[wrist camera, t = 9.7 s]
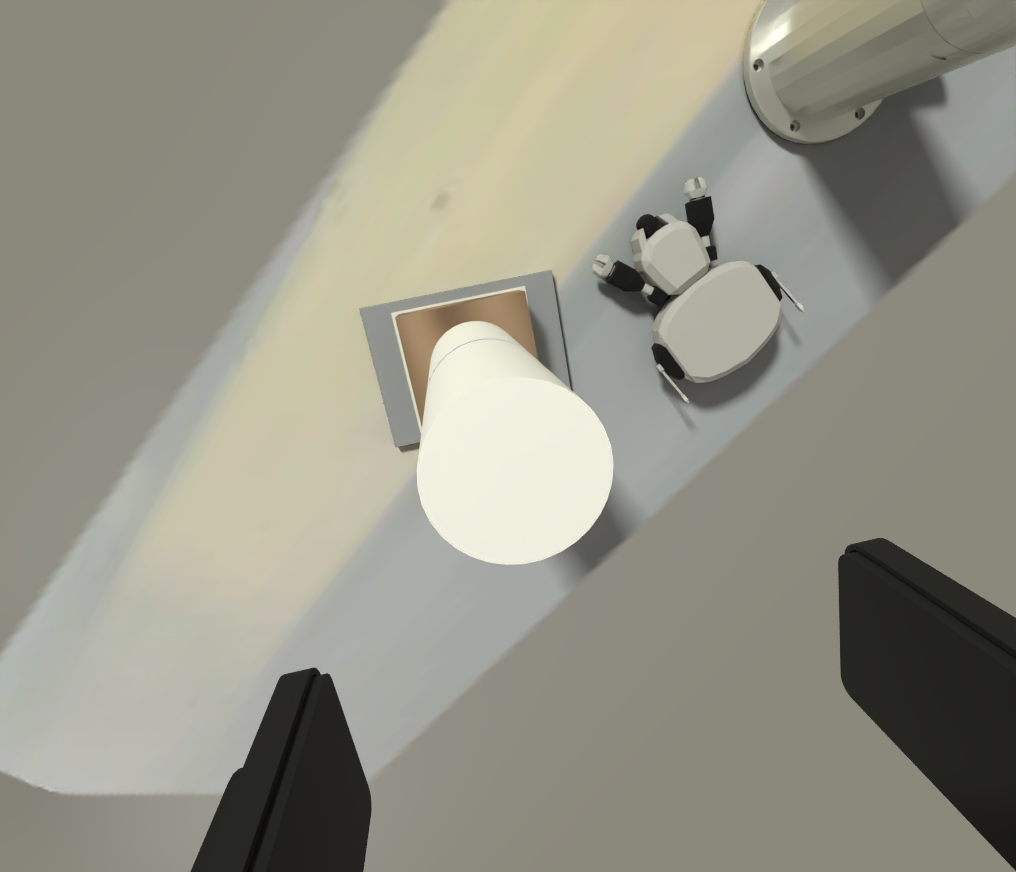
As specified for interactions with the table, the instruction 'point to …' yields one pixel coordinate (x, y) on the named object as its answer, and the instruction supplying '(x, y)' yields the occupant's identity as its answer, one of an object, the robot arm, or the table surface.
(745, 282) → the robot toy
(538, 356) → the plate
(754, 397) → the table surface
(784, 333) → the table surface
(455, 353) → the cylindrical container
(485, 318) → the plinth
